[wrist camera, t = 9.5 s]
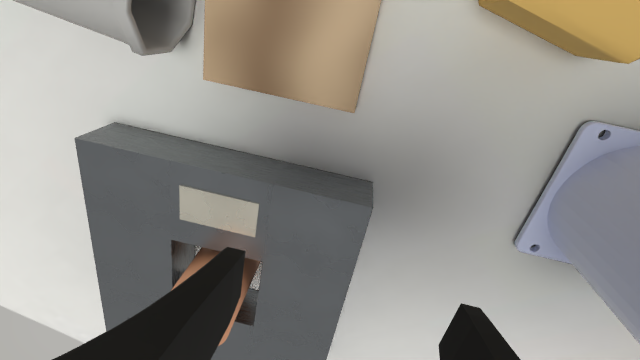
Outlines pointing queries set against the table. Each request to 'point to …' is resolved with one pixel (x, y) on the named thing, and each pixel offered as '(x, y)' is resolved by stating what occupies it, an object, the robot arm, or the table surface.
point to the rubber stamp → (579, 25)
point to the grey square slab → (223, 233)
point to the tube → (127, 20)
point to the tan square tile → (291, 47)
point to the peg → (248, 275)
